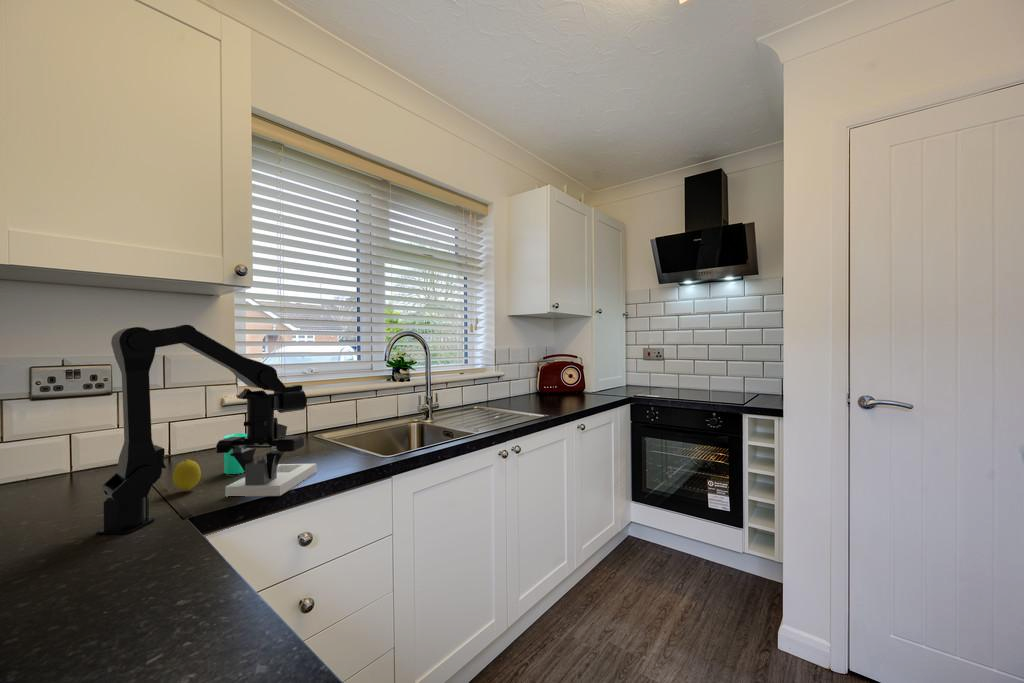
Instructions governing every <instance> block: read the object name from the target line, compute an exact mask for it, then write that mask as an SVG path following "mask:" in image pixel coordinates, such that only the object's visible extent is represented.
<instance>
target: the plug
mask: <svg viewBox="0 0 1024 683" xmlns="http://www.w3.org/2000/svg"><path fill="white" fill-rule="evenodd" d="M256 458H257V459H255V460H254V459H253V460H254V461H252V462H250V463H247V464H245V473H244V477H245V485H265V484H267V483H269V482H270V481H272V480H274V479H276V478H277V469H276V472H275V474H274V477H273V479H269V476H268V467H267V457H266V456H265V454H264V455H258V456H257V457H256Z"/></svg>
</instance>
